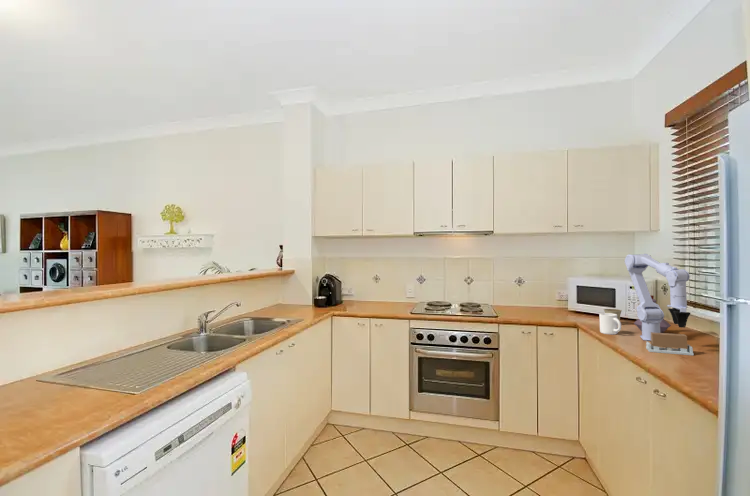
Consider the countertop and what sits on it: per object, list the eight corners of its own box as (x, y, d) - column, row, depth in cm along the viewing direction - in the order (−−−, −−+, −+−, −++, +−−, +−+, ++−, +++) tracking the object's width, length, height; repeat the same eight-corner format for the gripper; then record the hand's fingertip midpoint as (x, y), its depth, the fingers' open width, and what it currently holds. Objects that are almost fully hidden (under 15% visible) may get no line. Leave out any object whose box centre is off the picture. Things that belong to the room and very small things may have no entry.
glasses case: (651, 344, 163) (650, 332, 163) (684, 346, 157) (684, 334, 157) (652, 346, 160) (652, 334, 160) (687, 348, 154) (686, 336, 154)
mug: (627, 335, 189) (626, 316, 189) (614, 336, 188) (613, 317, 188) (609, 331, 201) (608, 312, 201) (596, 331, 199) (595, 313, 200)
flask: (667, 330, 199) (666, 294, 199) (675, 336, 184) (673, 297, 185) (631, 327, 207) (630, 293, 207) (636, 333, 192) (634, 296, 193)
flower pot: (601, 322, 224) (600, 308, 225) (618, 322, 223) (617, 308, 223) (608, 325, 215) (607, 311, 215) (625, 325, 213) (624, 311, 213)
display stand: (646, 347, 165) (645, 341, 165) (688, 351, 158) (688, 344, 158) (649, 351, 159) (649, 344, 159) (693, 355, 152) (693, 347, 152)
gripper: (663, 293, 171) (664, 322, 171) (671, 297, 159) (672, 328, 158) (682, 294, 168) (683, 323, 168) (692, 298, 155) (693, 329, 155)
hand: (679, 325), depth 163 cm, fingers open, 7 cm apart
